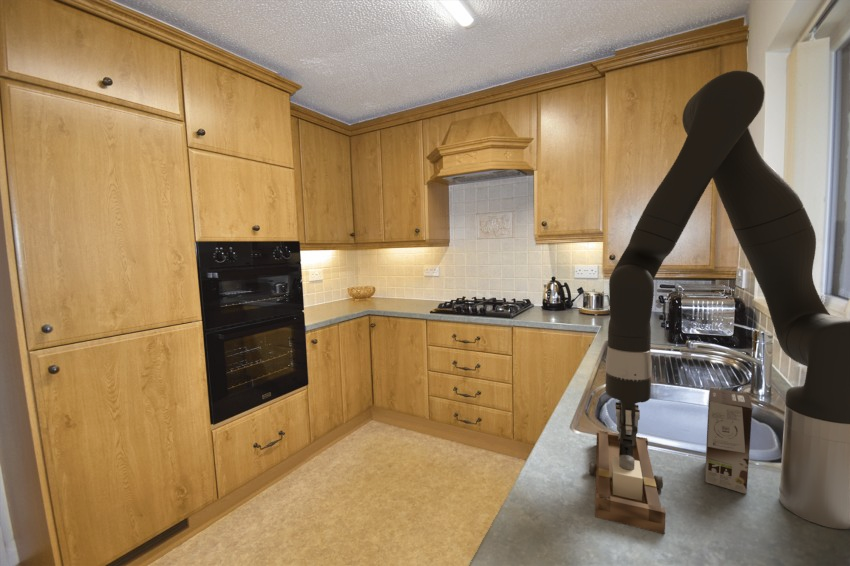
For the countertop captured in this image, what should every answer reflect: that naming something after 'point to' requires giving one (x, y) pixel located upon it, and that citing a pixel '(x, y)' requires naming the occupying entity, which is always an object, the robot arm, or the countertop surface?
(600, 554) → the countertop surface
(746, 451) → the coffee box
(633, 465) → the rider
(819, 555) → the countertop surface
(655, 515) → the wooden slider track
